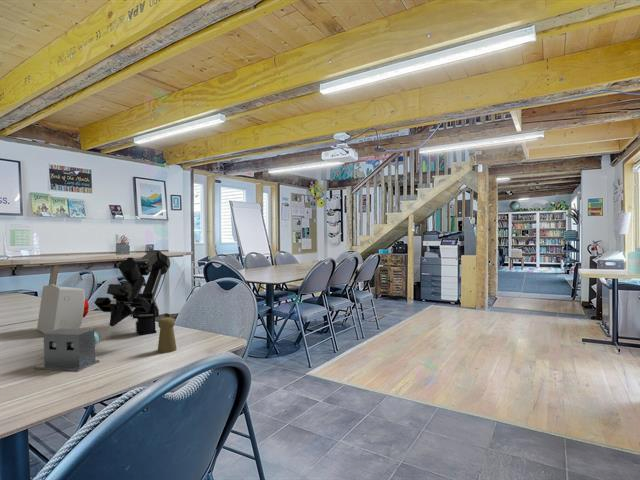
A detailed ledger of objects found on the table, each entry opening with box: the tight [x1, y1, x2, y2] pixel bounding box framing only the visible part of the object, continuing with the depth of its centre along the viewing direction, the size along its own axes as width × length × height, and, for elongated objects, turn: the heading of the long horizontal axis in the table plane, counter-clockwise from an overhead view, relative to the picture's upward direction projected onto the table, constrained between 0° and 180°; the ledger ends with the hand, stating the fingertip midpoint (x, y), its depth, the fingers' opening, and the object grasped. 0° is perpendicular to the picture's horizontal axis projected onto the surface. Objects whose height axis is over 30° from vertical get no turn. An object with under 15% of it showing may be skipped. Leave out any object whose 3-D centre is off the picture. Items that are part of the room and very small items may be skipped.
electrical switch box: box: [36, 283, 90, 334], centre depth 158 cm, size 15×15×20 cm
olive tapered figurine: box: [157, 316, 177, 354], centre depth 127 cm, size 6×6×11 cm
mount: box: [33, 328, 100, 372], centre depth 113 cm, size 8×15×10 cm, turn 80°
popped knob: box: [71, 331, 100, 348], centre depth 115 cm, size 8×4×4 cm, turn 170°
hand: (111, 325), depth 127 cm, fingers closed
